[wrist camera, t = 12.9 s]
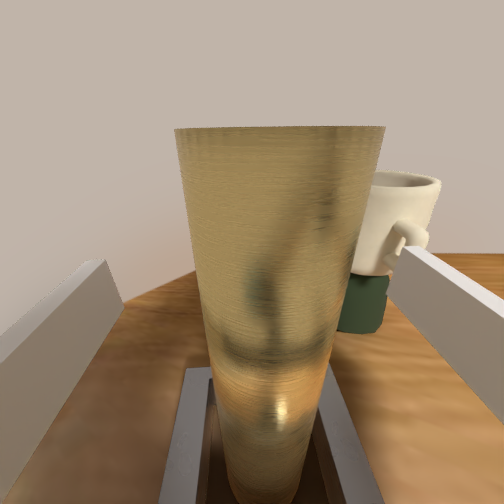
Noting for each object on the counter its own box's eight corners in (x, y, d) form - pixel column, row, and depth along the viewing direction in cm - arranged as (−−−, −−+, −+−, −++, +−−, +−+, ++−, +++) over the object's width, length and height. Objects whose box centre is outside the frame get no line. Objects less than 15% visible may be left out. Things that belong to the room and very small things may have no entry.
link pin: (291, 417, 14) (333, 129, 6) (309, 512, 10) (450, 125, 3) (228, 422, 14) (193, 130, 6) (225, 520, 10) (138, 128, 3)
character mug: (418, 363, 17) (513, 195, 11) (328, 369, 17) (370, 200, 10) (354, 279, 27) (384, 164, 20) (295, 282, 26) (307, 166, 20)
